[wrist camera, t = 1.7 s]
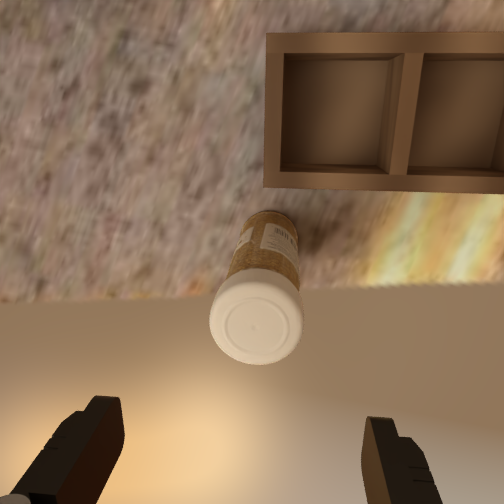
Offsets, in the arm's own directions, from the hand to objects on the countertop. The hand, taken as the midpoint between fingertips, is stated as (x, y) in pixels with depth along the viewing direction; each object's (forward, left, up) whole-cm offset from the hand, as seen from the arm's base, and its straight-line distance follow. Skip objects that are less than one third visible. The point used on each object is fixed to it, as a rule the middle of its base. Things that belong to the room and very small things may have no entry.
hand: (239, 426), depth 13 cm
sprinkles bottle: (0, 0, -20) cm, 20 cm away
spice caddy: (+10, +6, -20) cm, 23 cm away
